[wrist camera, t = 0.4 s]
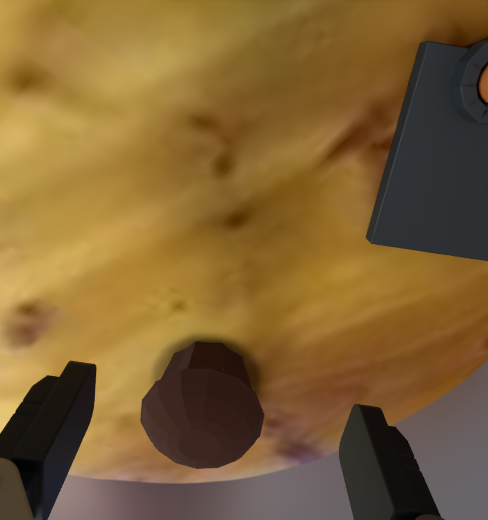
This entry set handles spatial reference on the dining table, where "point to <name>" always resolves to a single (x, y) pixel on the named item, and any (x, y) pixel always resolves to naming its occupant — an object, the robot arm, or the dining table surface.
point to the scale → (438, 159)
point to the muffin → (203, 408)
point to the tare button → (484, 84)
